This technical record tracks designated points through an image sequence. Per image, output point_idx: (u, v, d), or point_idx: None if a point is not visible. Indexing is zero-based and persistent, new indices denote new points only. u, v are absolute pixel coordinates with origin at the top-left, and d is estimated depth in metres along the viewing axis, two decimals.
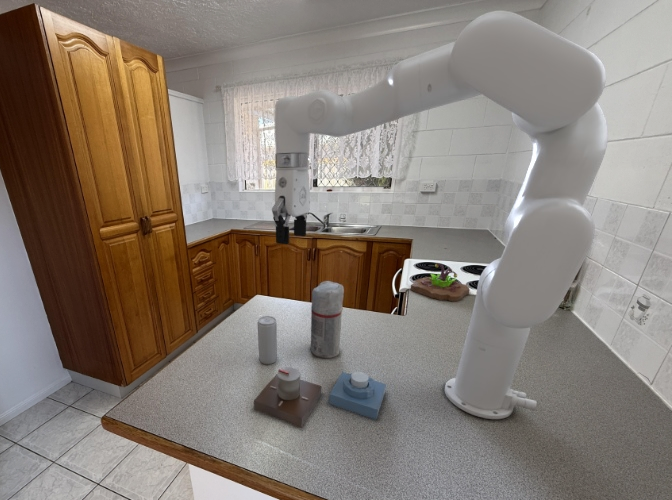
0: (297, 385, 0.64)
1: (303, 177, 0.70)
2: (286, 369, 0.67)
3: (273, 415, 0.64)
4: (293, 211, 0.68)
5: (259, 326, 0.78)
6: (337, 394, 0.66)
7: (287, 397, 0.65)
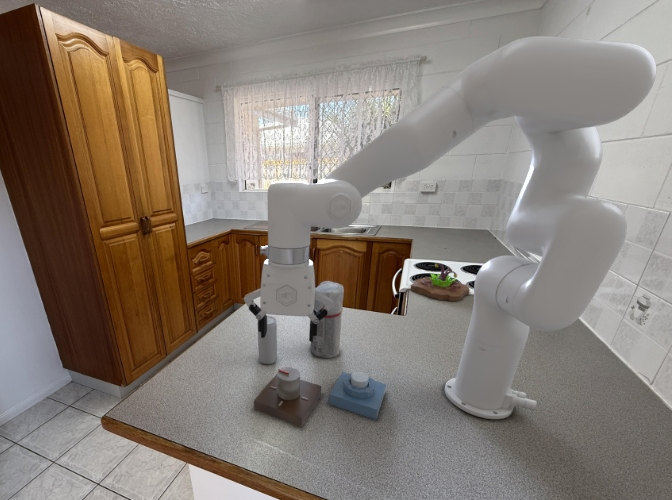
0: (297, 385, 0.64)
1: (288, 274, 0.55)
2: (286, 369, 0.67)
3: (273, 415, 0.64)
4: (262, 307, 0.59)
5: None
6: (337, 394, 0.66)
7: (287, 397, 0.65)
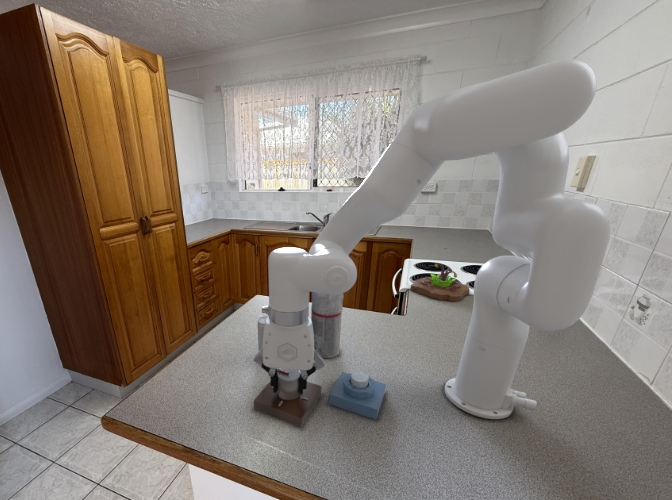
0: (297, 385, 0.64)
1: (288, 333, 0.58)
2: (286, 369, 0.67)
3: (273, 415, 0.64)
4: (264, 362, 0.62)
5: (259, 326, 0.78)
6: (337, 394, 0.66)
7: (287, 397, 0.65)
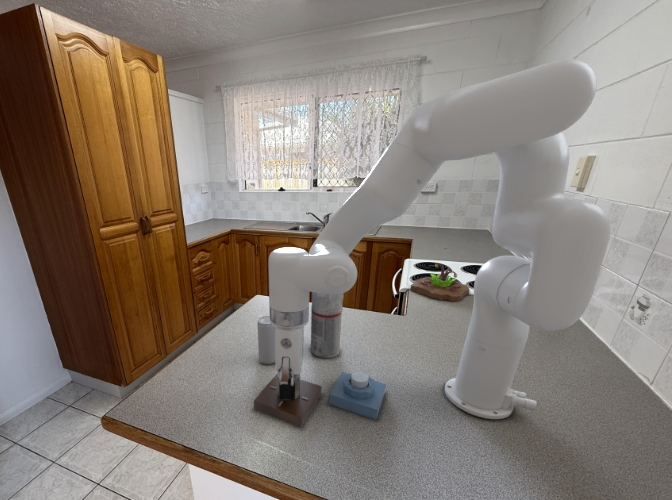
0: None
1: (303, 327, 0.61)
2: None
3: (273, 415, 0.64)
4: (299, 371, 0.59)
5: (259, 326, 0.78)
6: (337, 394, 0.66)
7: (299, 390, 0.67)
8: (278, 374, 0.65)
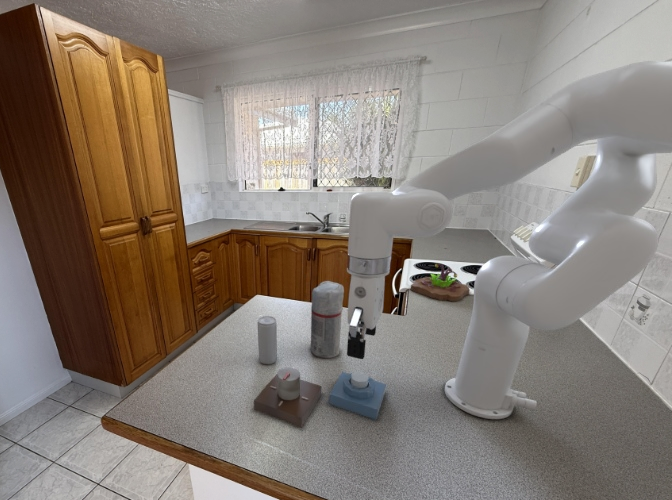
0: None
1: (382, 280, 0.57)
2: (281, 374, 0.65)
3: (273, 415, 0.64)
4: (372, 324, 0.56)
5: (259, 326, 0.78)
6: (337, 394, 0.66)
7: (299, 390, 0.67)
8: (278, 374, 0.65)
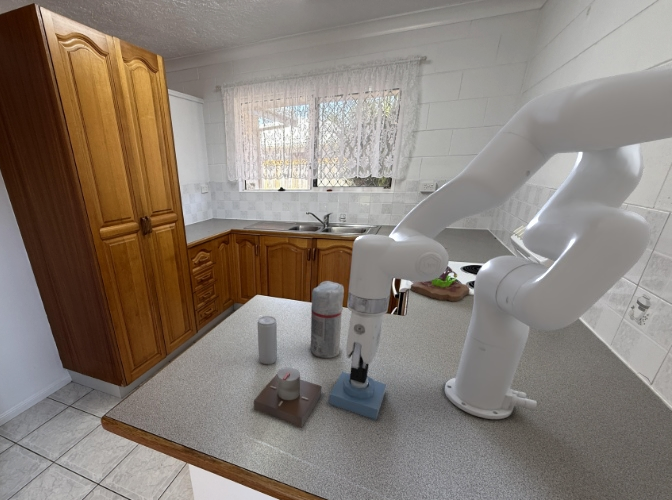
0: None
1: (381, 317, 0.60)
2: (281, 374, 0.65)
3: (273, 415, 0.64)
4: (370, 359, 0.59)
5: (259, 326, 0.78)
6: (337, 394, 0.66)
7: (299, 390, 0.67)
8: (278, 374, 0.65)
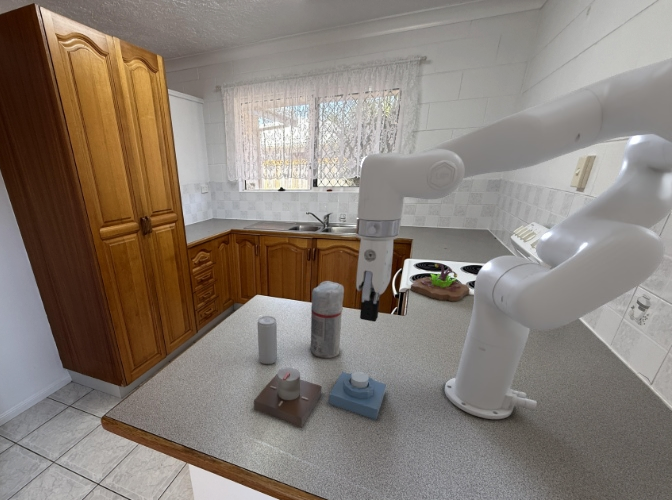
0: None
1: (392, 245, 0.57)
2: (281, 374, 0.65)
3: (273, 415, 0.64)
4: (382, 289, 0.55)
5: (259, 326, 0.78)
6: (337, 394, 0.66)
7: (299, 390, 0.67)
8: (278, 374, 0.65)
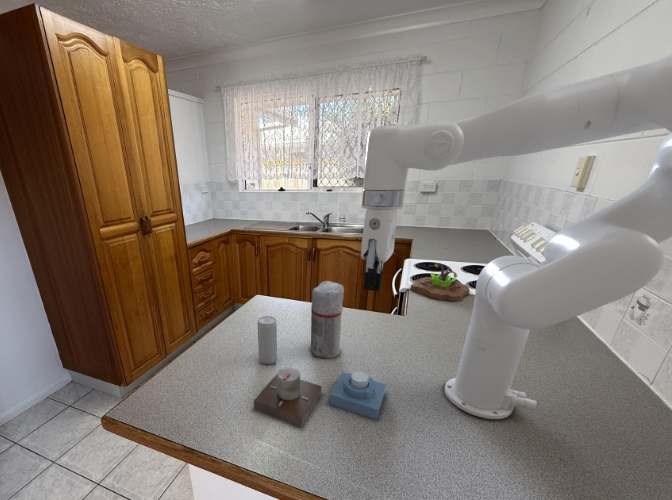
0: None
1: (395, 216, 0.60)
2: (281, 374, 0.65)
3: (273, 415, 0.64)
4: (385, 256, 0.58)
5: (259, 326, 0.78)
6: (337, 394, 0.66)
7: (299, 390, 0.67)
8: (278, 374, 0.65)
